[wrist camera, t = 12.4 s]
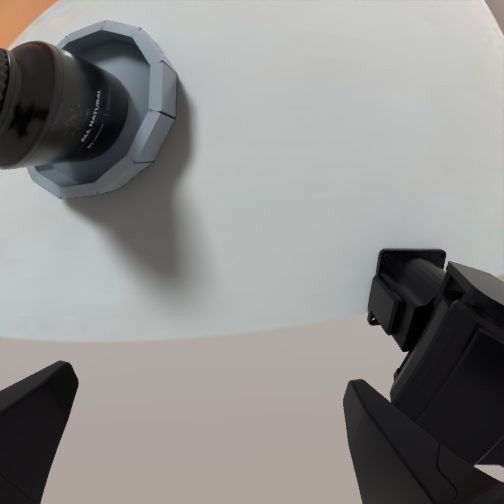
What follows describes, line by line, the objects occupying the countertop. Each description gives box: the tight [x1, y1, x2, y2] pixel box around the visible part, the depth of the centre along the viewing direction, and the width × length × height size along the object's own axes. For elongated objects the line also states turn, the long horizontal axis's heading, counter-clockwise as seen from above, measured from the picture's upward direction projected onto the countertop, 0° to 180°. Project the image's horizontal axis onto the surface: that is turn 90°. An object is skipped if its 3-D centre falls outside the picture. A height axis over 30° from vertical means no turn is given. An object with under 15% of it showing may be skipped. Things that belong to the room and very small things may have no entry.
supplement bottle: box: [0, 41, 128, 170], centre depth 10 cm, size 7×7×12 cm
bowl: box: [27, 20, 177, 199], centre depth 15 cm, size 13×13×3 cm
